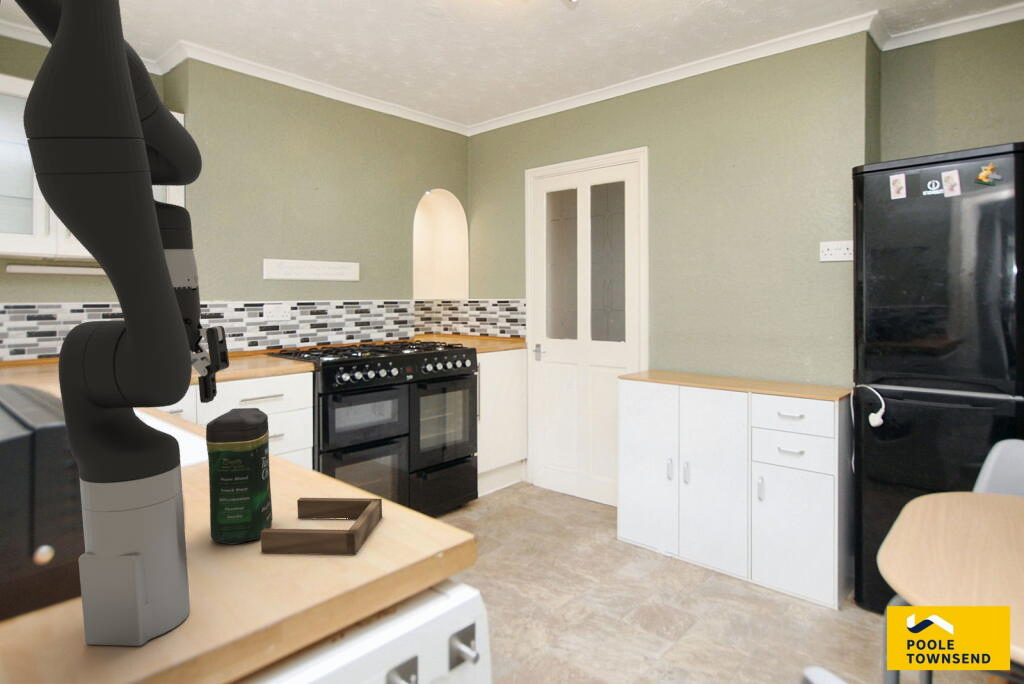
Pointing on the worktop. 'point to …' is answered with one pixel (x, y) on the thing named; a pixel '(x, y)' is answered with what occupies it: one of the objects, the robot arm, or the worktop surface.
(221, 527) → the coffee jar
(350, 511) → the wooden u-shaped frame
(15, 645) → the worktop surface
